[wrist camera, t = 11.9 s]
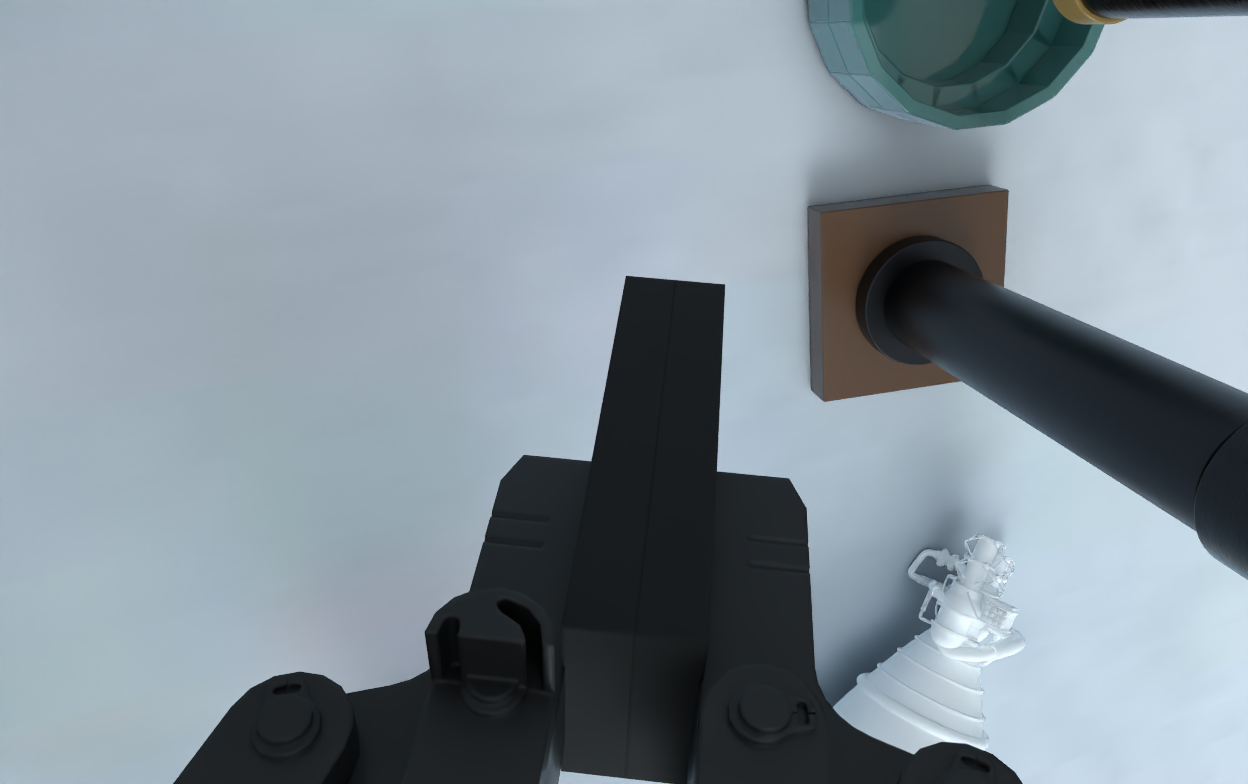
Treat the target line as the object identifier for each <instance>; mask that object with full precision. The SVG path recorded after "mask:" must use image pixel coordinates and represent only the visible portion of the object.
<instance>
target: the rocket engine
mask: <svg viewBox="0 0 1248 784" xmlns="http://www.w3.org/2000/svg"><path fill="white" fill-rule="evenodd" d="M977 535H978V536H979V537H977ZM973 537H977V538H974V539H972V538H973ZM973 537H971V538H969V539H968V540H966V541H964V543H965V548H966V553H967V554H965V555H964V559H962V560H959V556H958V555H956V554H953V555H952V556H951V555H950V553H949V551H948V550H947V549H945V548H944V549H943V550H942V551H935V550H931V549H926V550H924V551H922V552H921V553H920V554H919V555H918V557H917V558H916V559H915V561H914V562H913V563H912V565H911V566H910V567H909V569H908V575H909V576H910V577H911V578H912V579H914V580H916V581H917V582H918V583H919V584H922V585H924V586H926V587H929V592H928V594H927V596H926V598H924V599H925V600H924V603H923V605H922V607H920V609H921V611H920V613H919V618H920V620H922V621H924V622H926V623H928V624H930V625H931V628H929V629H928V630H926V631H925V632H923V633H922V634H921V635H915V636H914V637H915V639H914V640H912V641H911V642H909V643H908V644H907V645H905V646H904V647H903V648H902V647H899V648H897V652H896V653H895V654H894V655H892V656H891V657H890V658H889V659H887V660H886V661H885V662H883V663H878V664H877V668H876V669H875V670H874V671H873V672H871V673H862V674H860V675H859V676H858V677H857V685H856V686H855V687H854V688H853V689H852V690H851V691H849V692H848V693H847V694H846V695H845V696H844V697H843V698H842V699H841V700H840V701H838V702H837V703H836V704H835V705H834V706H833V709H834V710H835V711H836V712H837V714H838V715H840V716H841V717H842V718H843V719H844V720H846V721H847V722H848V723H849V724H850V725H852V726H853V727H854V728H856V729H858V730H860V731H862V732H864V733H866V734H867V735H869V736H871V737H873V738H876V739H878V740H881V741H883V742H885V743H888V744H890V745H892V746H895V747H897V748H900V749H902V750H904V751H907V752H909V753H911V754H915V753H916V752H917V751H918V750H919V749H920V748H923V747H927V746H930V745H933V744H936V743H939V742H952V743H965V744H969V745H971V746H974V747H976V748H979V749H981V750H985V749H987V747H988V746H989V739H988V736H987V734H986V733H985V731H984V730H983V722H984V721H985V719H986V718H985V716H984V715H983V712H982V694H983V693H984V690H983V689H982V688H981V677H980V671H981V670H982V667H984V666H987V665H989V664H990V662H991V661H994V660H997V659H1001V658H1004V657H1007V656H1010V655H1014V654H1016V653H1018V652H1019V651H1020V650H1022V649H1023V648H1024V646H1025V644H1026V641H1025V638H1024V637H1023V636H1022V635H1021V634H1020V633H1019V632H1018V631H1017V630H1015V629H1013V628H1011V626H1012V624H1013V622H1014V620H1015V617H1016V615H1019V613H1018V611H1019V609H1017V608H1015V607H1013V606H1011V605H1009V604H1007V603H1005V602H1003V601H1001V600H999V599H1000V596H1002V595H1003V594H1004V593H1005V592H1004V588H1005V584H1006V582H1007V579H1008V577H1009V576H1010V575H1011V574H1012V573H1014V564H1015V562H1013V561H1012V559H1010V558H1008V557H1006V556H1004V550H1005V548H1006V547H1005V546H1003V544H1002V543H1000V542H998V541H996V540H993V539H991V538H989V537H987V536H984V535H982V534H980V533H979V534H976V533H975V535H974V536H973ZM975 539H979V540H978V542H977V544H976V546H975V548H974V551H973V553H972V554H971V551H970V549H969V547H968V545H967V543H966V542H968V541H971V540H975ZM1000 546H1002V547H1003V548H1002V549H1003V554H1001V552H1000V550H999V547H1000ZM967 548H968V550H969V552H970V555H971V556H968V555H969V553H968V552H967ZM997 551H998V552H999V553H997ZM927 556H932V557H934V558H935V560H937V566H941V567H942V566H945V565H947V569H948V570H950V571H953V570H954V569H955V570H956V571H957V572H958V573H957V574H958V576H955V575H951V574H949V575H947V576H946V579H945V582H944V584H941V583H939V582H937V581H936V580H932V579H930V578H927V577H925V576H923V575H918V574H916V573H915V570H916V569H917V568H918V566H919V565H920V564H921V562H922V561H923V560H924V559H925V557H927ZM966 559H968V561H963V560H966ZM961 561H963V562H961ZM1010 561H1011V562H1012V564H1013V571H1012V569H1011V568H1010V566H1009V563H1010ZM964 562H968V564H967V566H966V565H965V564H964ZM1007 567H1009V568H1010V570H1011V572H1009V573H1005V572H1006V569H1007ZM1004 574H1009V576H1008V577H1006V578H1003V576H1004ZM948 578H951V579H953V582H952V584H949V585H948V586H946V583H947V580H948ZM1001 581H1003V584H1004V587H1003V589H1002V587H1001V586H1000V583H1001ZM999 586H1000V588H1001V589H1002V591H1003V592H999V591H998V587H999ZM999 593H1002V594H1001V595H1000V596H999ZM932 596H933V597H935V598H936V599H937V602H936V605H935V614H936V618H935V620H934V619H931V621H930V620H927V619H925V618H923V617H922V615H923V613H924V611H926V608H927V606H928V604H929V602H930V599H931V597H932ZM938 604H939V605H940V606H941V607H940V609H939V612H938V613H937V607H938ZM991 632H992V633H994V638H993V641H992V642H991V643H987V644H985V645H983V647H979V643H978V642H980V641H981V640H983V639H984V638H985V637H986V636H987V634H988V633H989V634H990V633H991ZM1001 637H1002V638H1004V639H1001V640H999V639H1000V638H1001Z"/></svg>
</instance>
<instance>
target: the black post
mask: <svg viewBox="0 0 1248 784" xmlns="http://www.w3.org/2000/svg"><path fill="white" fill-rule="evenodd" d="M1008 192H1009V191H1008V190H1007V189H1003V188H1000V187H996V186H992V185H983V186H975V187H967V188H958V189H950V190H942V191H934V192H925V193H917V194H909V195H900V196H892V197H884V198H876V199H867V200H859V201H851V202H842V203H834V204H826V205H817V206H809V207H808V242H809V293H810V343H811V390H812V391H813V392H814V393H815V394H816V395H817V396H818V397H819V398H820V399H821V400H822V401H824V402H826V401H833V400H840V399H846V398H853V397H859V396H866V395H873V394H879V393H886V392H893V391H899V390H906V389H912V388H919V387H926V386H932V385H939V384H946V383H952V382H959V381H962V382H964V383H965V384H967V385H969V386H970V387H972V388H973V389H975V390H976V391H978V392H979V393H981V394H983V395H984V396H986V397H987V398H989V399H990V400H992V401H994V402H995V403H997V404H998V405H1000V406H1001V407H1003V408H1004V409H1006V410H1008V411H1009V412H1011V413H1012V414H1014V415H1015V416H1017V417H1019V418H1020V419H1022V420H1023V421H1025V422H1026V423H1028V424H1029V425H1031V426H1033V427H1034V428H1036V429H1037V430H1039V431H1040V432H1042V433H1043V434H1045V435H1047V436H1048V437H1050V438H1051V439H1053V440H1054V441H1056V442H1058V443H1059V444H1061V445H1062V446H1064V447H1065V448H1067V449H1068V450H1070V451H1072V452H1073V453H1075V454H1076V455H1078V456H1079V457H1081V458H1082V459H1084V460H1086V461H1087V462H1089V463H1090V464H1092V465H1093V466H1095V467H1097V468H1098V469H1100V470H1101V471H1103V472H1104V473H1106V474H1107V475H1109V476H1111V477H1112V478H1114V479H1115V480H1117V481H1118V482H1120V483H1121V484H1123V485H1125V486H1126V487H1128V488H1129V489H1131V490H1132V491H1134V492H1136V493H1137V494H1139V495H1140V496H1142V497H1143V498H1145V499H1146V500H1148V501H1150V502H1151V503H1153V504H1154V505H1156V506H1157V507H1159V508H1161V509H1162V510H1164V511H1165V512H1167V513H1168V514H1170V515H1171V516H1173V517H1175V518H1176V519H1178V520H1179V521H1181V522H1182V523H1184V524H1185V525H1187V526H1189V527H1190V528H1192V529H1193V530H1195V531H1196V527H1195V522H1194V503H1195V497H1196V493H1197V489H1198V486H1199V483H1200V480H1201V478H1202V475H1203V473H1204V471H1205V469H1206V467H1207V466H1208V464H1209V462H1210V461H1211V459H1212V457H1213V456H1214V455H1215V453H1216V452H1217V451H1218V449H1219V448H1220V447H1221V446H1222V445H1223V444H1224V443H1225V442H1226V441H1227V439H1228V438H1230V437H1231V436H1232V435H1233V434H1234V433H1235V432H1236V431H1237V430H1239V429H1240V428H1242V427H1243V426H1244V425H1246V424H1247V423H1248V393H1245V392H1243V391H1241V390H1238V389H1236V388H1234V387H1232V386H1229V385H1227V384H1225V383H1222V382H1220V381H1218V380H1215V379H1213V378H1211V377H1208V376H1206V375H1204V374H1202V373H1199V372H1197V371H1195V370H1192V369H1190V368H1188V367H1185V366H1183V365H1181V364H1179V363H1176V362H1174V361H1172V360H1169V359H1167V358H1165V357H1162V356H1160V355H1158V354H1155V353H1153V352H1151V351H1149V350H1146V349H1144V348H1142V347H1139V346H1137V345H1135V344H1132V343H1130V342H1128V341H1126V340H1123V339H1121V338H1119V337H1116V336H1114V335H1112V334H1109V333H1107V332H1105V331H1103V330H1100V329H1098V328H1096V327H1093V326H1091V325H1089V324H1086V323H1084V322H1082V321H1079V320H1077V319H1075V318H1073V317H1070V316H1068V315H1066V314H1063V313H1061V312H1059V311H1056V310H1054V309H1052V308H1050V307H1047V306H1045V305H1043V304H1040V303H1038V302H1036V301H1033V300H1031V299H1029V298H1027V297H1024V296H1022V295H1020V294H1017V293H1015V292H1013V291H1010V290H1008V289H1006V288H1004V273H1005V253H1006V232H1007V212H1008ZM1196 532H1197V531H1196Z"/></svg>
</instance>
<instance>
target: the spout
mask: <svg viewBox="0 0 1248 784" xmlns="http://www.w3.org/2000/svg"><path fill="white" fill-rule="evenodd" d="M1053 2H1054V4H1055V6H1056V8H1057V9H1058V11H1059V12H1060V13H1061V14H1062V15H1063V16H1064V17H1065V18H1067V19H1068V20H1070V21H1072V22H1075V23H1078V24H1114V23H1118V22H1121V21H1124V20H1126V19H1128V18H1168V17H1212V16H1248V0H1053ZM1194 522H1195V527H1196V531H1197V534H1198V537H1199V539H1200V541H1201V543H1202V544H1203V546H1204V548H1205V549H1206V550H1207V551H1208V552H1209V554H1211V555H1212V556H1213V557H1214V558H1215V559H1217V560H1218V561H1220V562H1221V563H1223V564H1224V565H1226V566H1227V567H1229V568H1230V569H1232V570H1233V571H1235V572H1236V573H1238V574H1239V575H1241V576H1243V577H1244V578H1246V579H1247V580H1248V423H1247V424H1246V425H1244V426H1243V427H1242V428H1240V429H1239V430H1237V431H1236V432H1235V433H1234V434H1233V435H1232V436H1231V437H1230V438H1228V439H1227V441H1226V442H1225V443H1224V444H1223V445H1222V446H1221V447H1220V448H1219V449H1218V451H1217V452H1216V453H1215V455H1214V456H1213V457H1212V459H1211V461H1210V462H1209V464H1208V466H1207V467H1206V469H1205V471H1204V473H1203V475H1202V478H1201V480H1200V483H1199V486H1198V489H1197V493H1196V497H1195V503H1194Z"/></svg>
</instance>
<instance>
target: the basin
mask: <svg viewBox="0 0 1248 784" xmlns="http://www.w3.org/2000/svg"><path fill="white" fill-rule="evenodd" d="M808 13H809V25H810V27H811V30H812V32H813V35H814V37H815V40H816V42H817V44H818V47H819V49H820V52H821V54H822V57H823V59H824V62H825V64H826V67H827V69H828V71H830V73H831V75H832V76H833V77H835V78H836V79H837V80H838V81H839V82H840V83H841V84H842V85H843V86H844V87H845V88H846V89H847V90H848V91H849V92H850V93H851V94H852V95H853V96H854V97H855V98H856V99H857V100H858V101H859V102H860V103H861V104H862V105H864V106H865V107H867V108H870V109H873V110H876V111H879V112H882V113H885V114H887V115H890V116H893V117H896V118H899V119H902V120H905V121H910V122H915V123H921V124H928V125H932V126H937V127H943V128H948V129H955V130H959V129H968V128H977V127H986V126H995V125H1004V124H1007V123H1009V122H1011V121H1013V120H1015V119H1016V118H1018V117H1020V116H1022V115H1024V114H1025V113H1027V112H1029V111H1031V110H1033V109H1034V108H1036V107H1038V106H1040V105H1041V104H1043V103H1045V102H1047V101H1049V100H1050V99H1052V98H1053V97H1055V96H1056V95H1057V94H1058V92H1059V91H1060V90H1061V89H1062V88H1063V87H1064V86H1065V84H1066V83H1067V82H1068V81H1069V80H1070V79H1071V77H1072V76H1073V75H1074V74H1075V73H1076V72H1077V70H1078V69H1079V68H1080V67H1081V66H1082V65H1083V64H1084V62H1085V61H1086V60H1087V59H1088V58H1089V57H1090V55H1091V54H1092V52H1093V51H1094V49H1095V46H1096V44H1097V41H1098V39H1099V37H1100V34H1101V32H1102V29H1103V27H1104V25H1105V24H1078V23H1075V22H1072V21H1070V20H1068V19H1067V18H1065V17H1064V16H1063V15H1062V14H1061V13H1060V12H1059V11H1058V9H1057V8H1056V6H1055V4H1054V2H1053V0H808Z"/></svg>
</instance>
